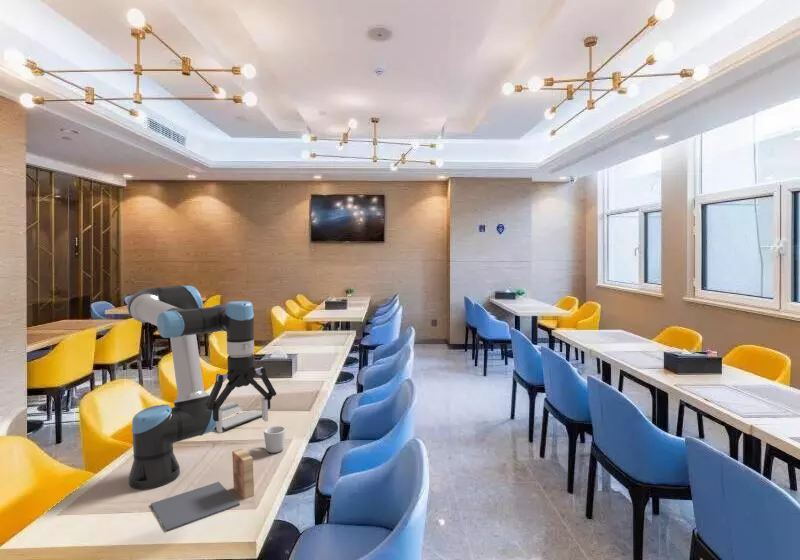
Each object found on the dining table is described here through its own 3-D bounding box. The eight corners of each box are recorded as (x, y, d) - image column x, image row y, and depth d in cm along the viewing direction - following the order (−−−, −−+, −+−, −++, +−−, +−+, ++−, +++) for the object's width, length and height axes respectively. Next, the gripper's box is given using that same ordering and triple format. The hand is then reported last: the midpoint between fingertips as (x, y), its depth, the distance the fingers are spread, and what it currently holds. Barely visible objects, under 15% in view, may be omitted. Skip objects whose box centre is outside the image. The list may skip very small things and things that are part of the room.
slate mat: (150, 505, 139) (150, 503, 139) (218, 483, 152) (218, 481, 152) (166, 531, 126) (166, 530, 126) (239, 505, 138) (239, 503, 138)
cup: (257, 448, 179) (256, 428, 179) (275, 442, 185) (274, 422, 184) (271, 456, 172) (270, 435, 171) (290, 450, 177) (289, 429, 177)
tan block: (233, 488, 149) (232, 451, 148) (242, 484, 151) (241, 448, 150) (244, 499, 142) (243, 460, 141) (254, 495, 144) (252, 457, 143)
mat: (224, 433, 196) (224, 422, 196) (189, 424, 208) (188, 414, 208) (266, 416, 216) (266, 406, 216) (231, 409, 228) (231, 399, 228)
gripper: (200, 363, 125) (202, 440, 127) (286, 350, 141) (287, 419, 142) (192, 358, 131) (194, 432, 133) (275, 346, 147) (277, 412, 148)
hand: (242, 425), depth 138 cm, fingers open, 13 cm apart
